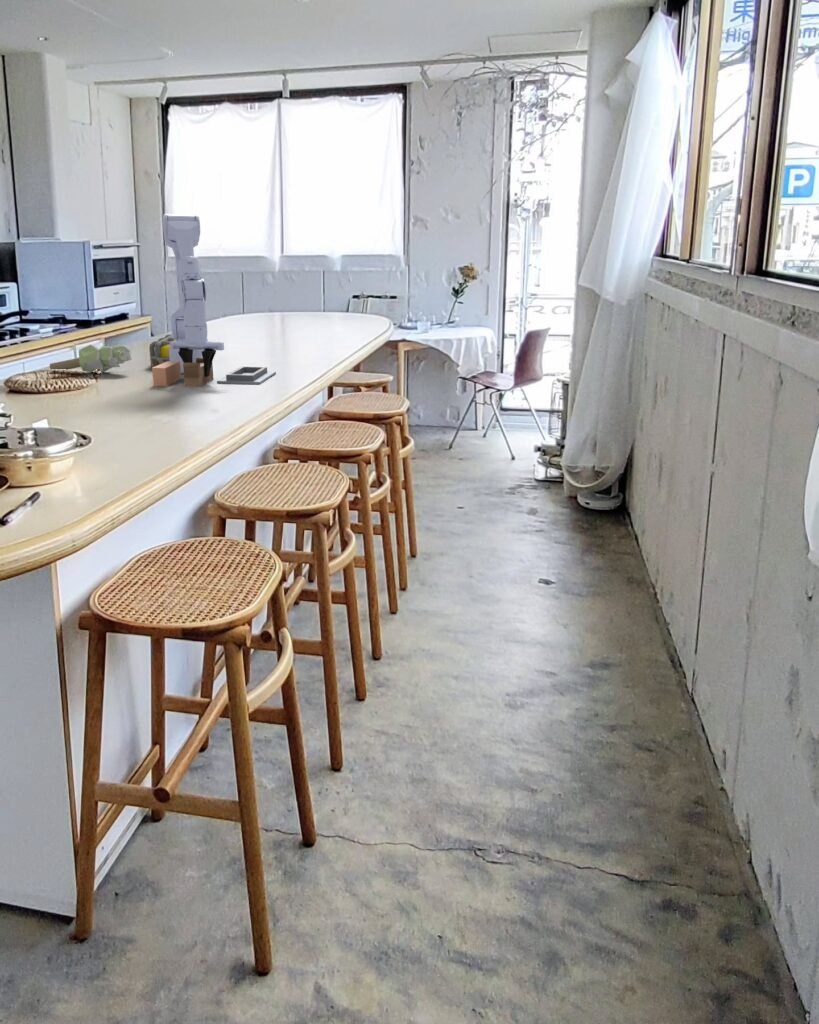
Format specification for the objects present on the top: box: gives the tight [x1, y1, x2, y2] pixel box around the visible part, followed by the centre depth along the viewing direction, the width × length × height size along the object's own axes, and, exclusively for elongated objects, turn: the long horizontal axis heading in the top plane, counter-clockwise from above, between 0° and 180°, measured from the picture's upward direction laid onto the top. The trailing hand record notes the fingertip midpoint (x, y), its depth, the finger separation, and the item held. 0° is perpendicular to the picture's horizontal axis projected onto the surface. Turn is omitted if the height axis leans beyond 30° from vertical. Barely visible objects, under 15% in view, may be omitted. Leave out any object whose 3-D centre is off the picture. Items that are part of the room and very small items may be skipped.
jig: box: [216, 366, 277, 385], centre depth 238 cm, size 12×18×2 cm, turn 175°
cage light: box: [149, 333, 209, 369], centre depth 264 cm, size 15×8×30 cm
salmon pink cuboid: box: [151, 361, 182, 387], centre depth 231 cm, size 12×4×5 cm, turn 176°
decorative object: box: [49, 344, 132, 375], centre depth 244 cm, size 9×10×25 cm
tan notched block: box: [183, 357, 214, 388], centre depth 230 cm, size 12×4×6 cm, turn 175°
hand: (199, 376), depth 230 cm, fingers closed on tan notched block, 4 cm apart
